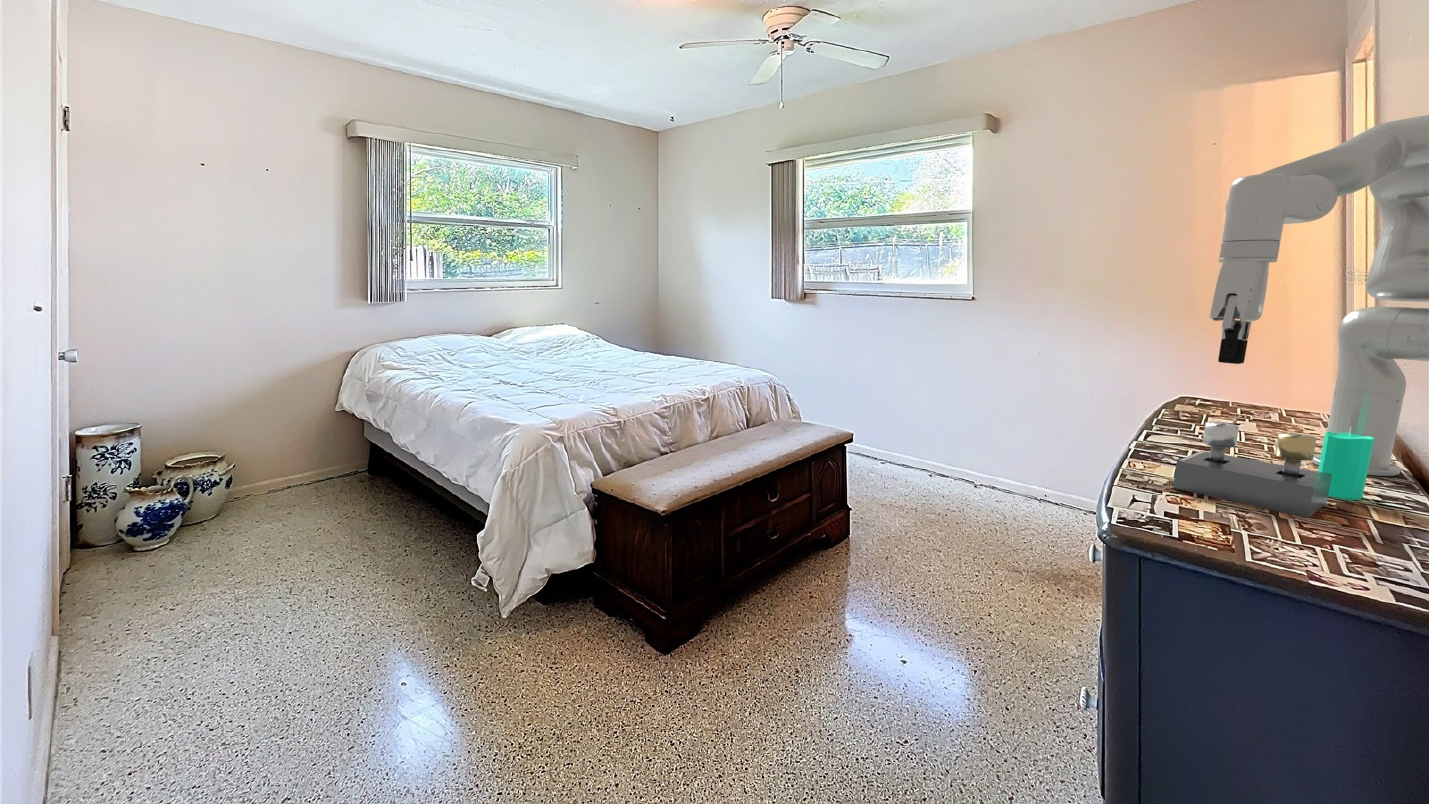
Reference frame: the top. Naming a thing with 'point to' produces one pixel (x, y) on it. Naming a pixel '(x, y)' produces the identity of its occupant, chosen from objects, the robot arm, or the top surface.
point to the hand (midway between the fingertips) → (1230, 362)
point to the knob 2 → (1294, 451)
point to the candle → (1346, 463)
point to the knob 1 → (1219, 439)
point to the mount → (1253, 483)
